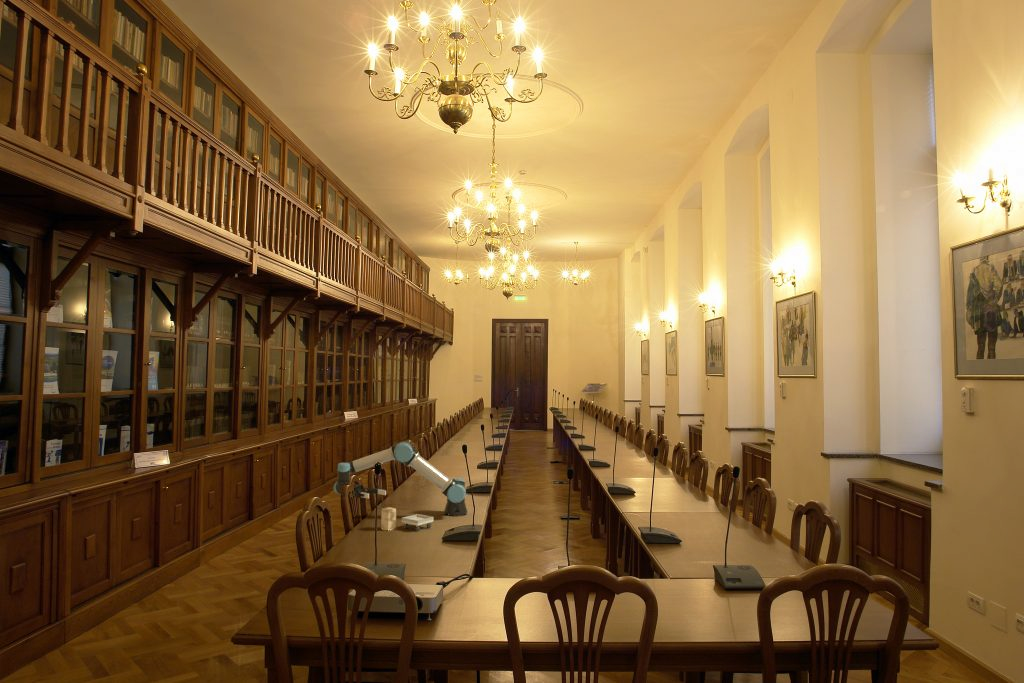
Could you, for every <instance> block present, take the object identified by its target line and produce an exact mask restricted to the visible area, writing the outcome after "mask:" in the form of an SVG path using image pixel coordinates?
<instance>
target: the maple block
mask: <svg viewBox="0 0 1024 683" xmlns="http://www.w3.org/2000/svg"><path fill="white" fill-rule="evenodd" d="M380 511H381V519H380V520H381V523H380V524H381V525H380V526H381V527H380V530H381V529H382V531H386V530H388V531H387V532H390V531H394V530H396V529H397V509H396V508H394V507H389V506H388V507H384V508H381V510H380ZM393 529H394V530H393ZM389 530H390V531H389Z"/></svg>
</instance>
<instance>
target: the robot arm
mask: <svg viewBox="0 0 1024 683" xmlns="http://www.w3.org/2000/svg"><path fill="white" fill-rule="evenodd" d="M390 461H398V462H399V463H402V464H403V465H405V466H406V467H411V468H412V469H414V470H415V471H416V472H418V473H419V474H421V475H422V476H423V477H424V478H426V479H427V480H428V481H430V482H431V483H432V484H433V485H435V487H437V488H439V489H440V492H441V494H443V495H444V496H445V497H446V504H445V508H444V511H443V514H444V513H445V514H449V515H462V516H465V515H464V514H466V515H467V514H468V508H467V505H466V500H465V499H466V496H467V491H466V480H465V478H459V477H458V478H456V477H455V478H453V477H448V476H447V475H446V474H444V473H443V472H442V471H440V469H438V468H436V467H435V466H434V465H433V464H432V463H430V462H429V461H427V460H426V459H425V458H424V457H422V456H421V455H420V452H419V451H418V449H416V448H415V447H414V446H413V444H412V443H411V442H410V441H408V440H402V441H400V442H398V443H396V444H393V445H391V446H390V447H389V448H386V449H383V450H381V451H378V452H375V453H373V454H370V455H366V456H364V457H361V458H358V459H354V460H353V461H349V462H339V463H338V464H337V481H335V483H334V485H333V492H335V493H336V494H339V495H342V494H341V491H342V488H343V486H344V485H345V484H347V483H348V482H349V480H351V479H350V478H351V475H353V474H356V473H358V472H361V471H363V470H367V469H370V468H372V467H375V466H374V465H375V463H376V462H380V463H381V464H384V463H387V462H390ZM355 484H356V485H355V486H354V491H353V496H354V498H358V499H361V498H363V499H370V494H377V495H383V496H386V495H387V490H385V489H382V488H381V487H378V488H374V487H373V488H372V487H371V488H370V487H362V486H361V485H360V484H358V483H355ZM353 496H352V497H353ZM445 514H444V515H445Z"/></svg>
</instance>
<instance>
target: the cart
mask: <svg viewBox="0 0 1024 683" xmlns="http://www.w3.org/2000/svg"><path fill="white" fill-rule="evenodd" d="M433 522H434V516H430V515H425V514H419V513H416V514H411V515H407V516H404V517H403V516H402V517H401V523H403V529H408V528H409V525H414V526H415V528H414V529H415V531H417V532H419V531H420V530H421V526H422V525H425V524H426V527H427V528H429V529H430V528H431V527H432V523H433Z"/></svg>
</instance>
